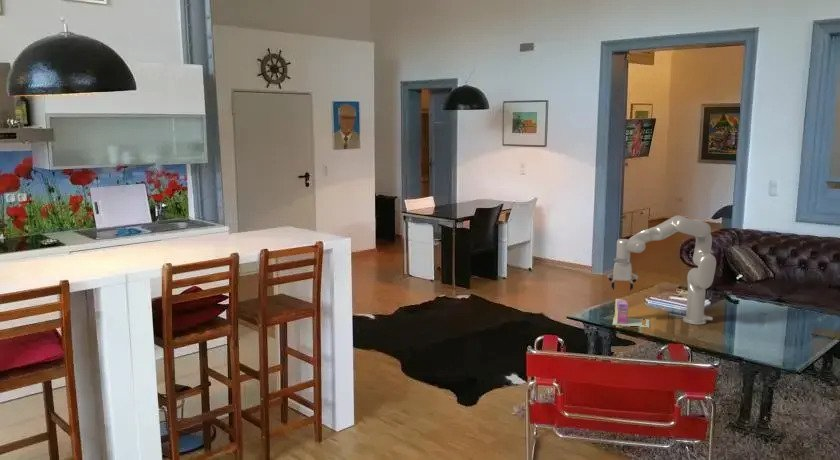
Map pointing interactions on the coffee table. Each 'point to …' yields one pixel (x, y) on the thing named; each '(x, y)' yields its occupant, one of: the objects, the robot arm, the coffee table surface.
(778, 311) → the coffee table surface
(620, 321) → the box
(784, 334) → the coffee table surface
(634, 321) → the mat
